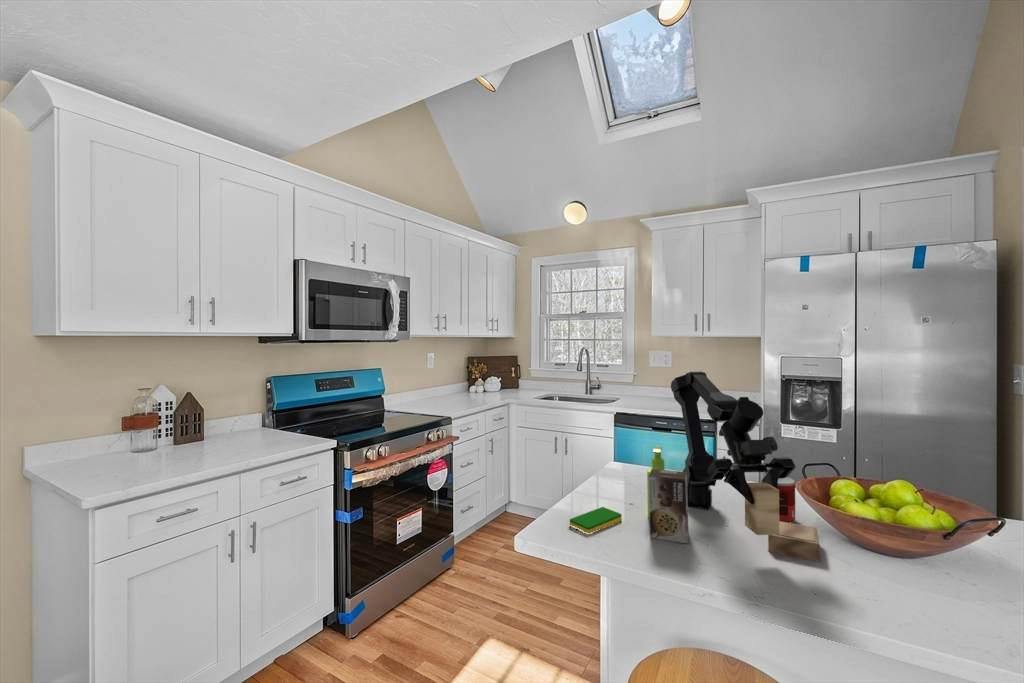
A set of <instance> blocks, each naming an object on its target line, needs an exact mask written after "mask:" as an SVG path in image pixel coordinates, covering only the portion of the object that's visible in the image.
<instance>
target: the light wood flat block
mask: <svg viewBox="0 0 1024 683" xmlns="http://www.w3.org/2000/svg"><path fill="white" fill-rule="evenodd" d="M767 540H768V544H767V545H768V547H767V551H768V552H769V553H775V554H779V555H784V556H790V557H794V558H798V559H799V558H800V559H804V560H808V561H813V562H817V561H818V563H820V562H821V554H820V553H821V550H820V549H821V547H820V546H821V544H820V537H819V533H818V528H817V527H815V526H810V525H804V524H798V523H795V522H793V523H788V522H782V521H779V535H767Z"/></svg>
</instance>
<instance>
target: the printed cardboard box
mask: <svg viewBox="0 0 1024 683" xmlns="http://www.w3.org/2000/svg"><path fill="white" fill-rule="evenodd" d="M651 469H652V468H651ZM648 479H649V510H650V519H649V538H651V539H654V538H655V539H656V540H662V541H668V542H675V543H682V544H688V541H689V535H690V534H689V508H688V507H689V506H688V495H687V472H683V471H680V470H679V471H677V470H668V469H665V470H658V469H652V470H651V472H650V474H649V476H648Z"/></svg>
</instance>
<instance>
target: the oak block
mask: <svg viewBox="0 0 1024 683" xmlns="http://www.w3.org/2000/svg"><path fill="white" fill-rule="evenodd" d="M747 484H748V486H749V488H750V490H751V493H752V495H753V498H754V501H755V503H754V504H751V503H750V502H749V501H748V500H747V499H746V498H745V497H744V526H745V527H746V528H748V529H749V530H750V531H752V532H753V533H754V534H755V535H756V536H768V535H779V490H778V489H777V488H775V487H773V486H771V485H770V484H768V483H766V482H747Z"/></svg>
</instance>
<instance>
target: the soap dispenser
mask: <svg viewBox="0 0 1024 683" xmlns="http://www.w3.org/2000/svg"><path fill="white" fill-rule="evenodd" d="M662 449H663V448H662V446H659V445H658V446H656V445H654V447H653V450H652V451H653V452H652V453H653V454H654V456H653V457H651V468H648V469H647V470H646V472H647V473H646V476H647V478H646V481H647V482H646V484H647V486H646V487H647V518H648V519H649V518H650V510H649V479H648V476H649V474H650V472H651V470H652V469H658V470H666V469H665V459H664V458H663V457H662Z"/></svg>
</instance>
